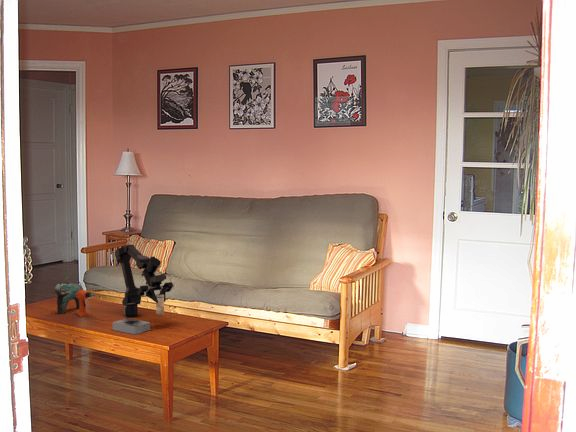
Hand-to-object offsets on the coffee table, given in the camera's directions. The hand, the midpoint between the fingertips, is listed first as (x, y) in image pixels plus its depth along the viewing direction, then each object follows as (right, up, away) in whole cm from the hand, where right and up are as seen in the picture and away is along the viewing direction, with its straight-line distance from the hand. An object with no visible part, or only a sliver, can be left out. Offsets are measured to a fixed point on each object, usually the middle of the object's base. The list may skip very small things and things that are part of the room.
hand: (161, 302), depth 314 cm
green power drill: (-60, -10, +35) cm, 70 cm away
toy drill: (-46, -11, +22) cm, 52 cm away
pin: (-1, -6, +2) cm, 7 cm away
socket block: (-14, -14, -4) cm, 20 cm away
